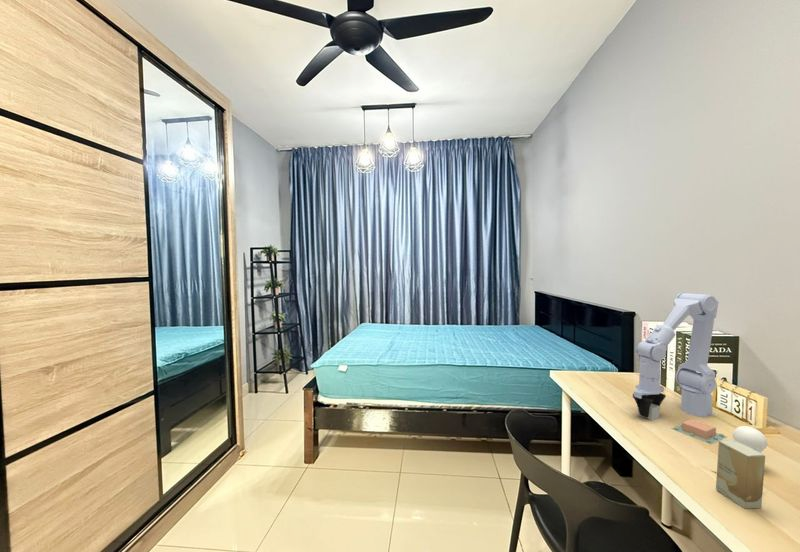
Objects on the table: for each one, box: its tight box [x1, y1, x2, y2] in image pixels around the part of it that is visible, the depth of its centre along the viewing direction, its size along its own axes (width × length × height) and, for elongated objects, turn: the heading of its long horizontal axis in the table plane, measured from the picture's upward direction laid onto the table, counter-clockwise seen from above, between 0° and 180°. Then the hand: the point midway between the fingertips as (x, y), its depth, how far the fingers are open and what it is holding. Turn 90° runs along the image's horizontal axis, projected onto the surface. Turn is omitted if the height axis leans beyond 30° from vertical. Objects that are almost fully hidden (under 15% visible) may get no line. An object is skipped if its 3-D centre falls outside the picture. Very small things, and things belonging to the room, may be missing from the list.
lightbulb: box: [732, 425, 768, 454], centre depth 83 cm, size 6×6×11 cm
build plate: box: [671, 424, 728, 445], centre depth 100 cm, size 10×10×1 cm
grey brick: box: [637, 403, 661, 421], centre depth 111 cm, size 4×4×5 cm
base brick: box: [681, 418, 717, 439], centre depth 100 cm, size 6×6×2 cm
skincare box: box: [715, 439, 766, 510], centre depth 72 cm, size 6×4×12 cm
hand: (648, 414), depth 111 cm, fingers open, 5 cm apart
